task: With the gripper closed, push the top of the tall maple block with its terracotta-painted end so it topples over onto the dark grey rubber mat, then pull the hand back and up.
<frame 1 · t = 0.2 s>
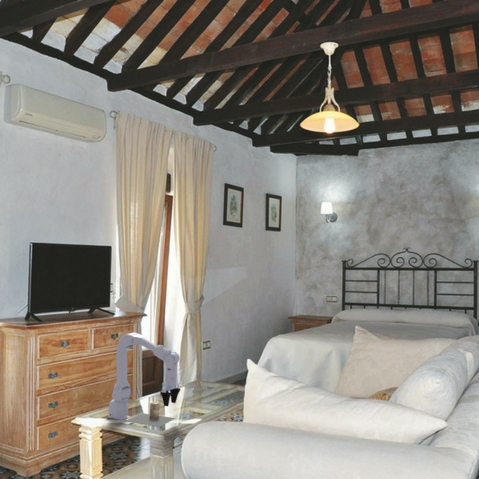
hand: (169, 404, 285), 10 cm above the table, tool pointing down, fingers open, 7 cm apart
maple block: (154, 417, 296), resting on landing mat
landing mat: (150, 420, 290), on the table
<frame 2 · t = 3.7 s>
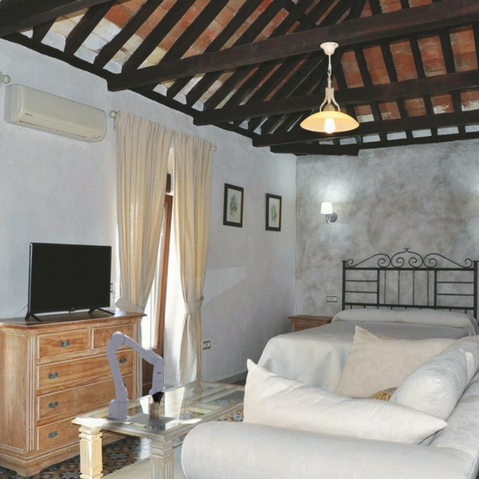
hand: (156, 406, 298), 5 cm above the table, tool pointing down, fingers closed
maple block: (154, 416, 296), point 1 cm above the table, tilted 7°, touching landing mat
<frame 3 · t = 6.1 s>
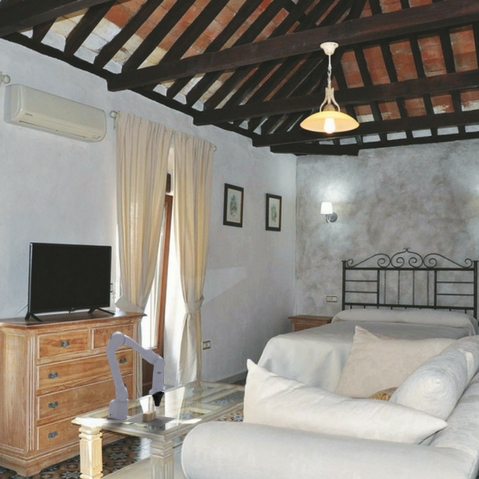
hand: (157, 406, 298), 5 cm above the table, tool pointing down, fingers closed
maple block: (152, 414, 294), point 2 cm above the table, tilted 90°, touching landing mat
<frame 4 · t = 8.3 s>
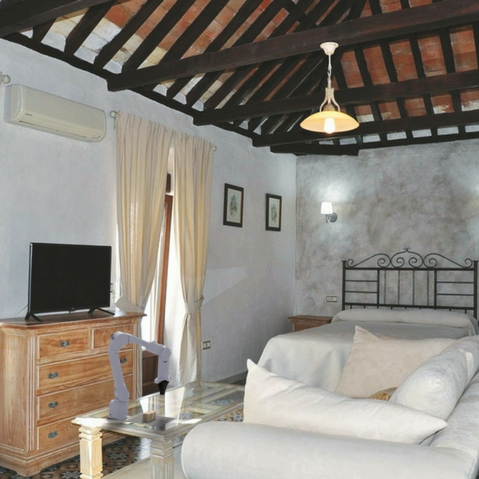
hand: (162, 394, 303), 10 cm above the table, tool pointing down, fingers closed
nothing on the table moved.
at the end: maple block tilted 90°; maple block inside the target area (1.2 cm from its centre), point 2.2 cm above the table; maple block touching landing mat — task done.
